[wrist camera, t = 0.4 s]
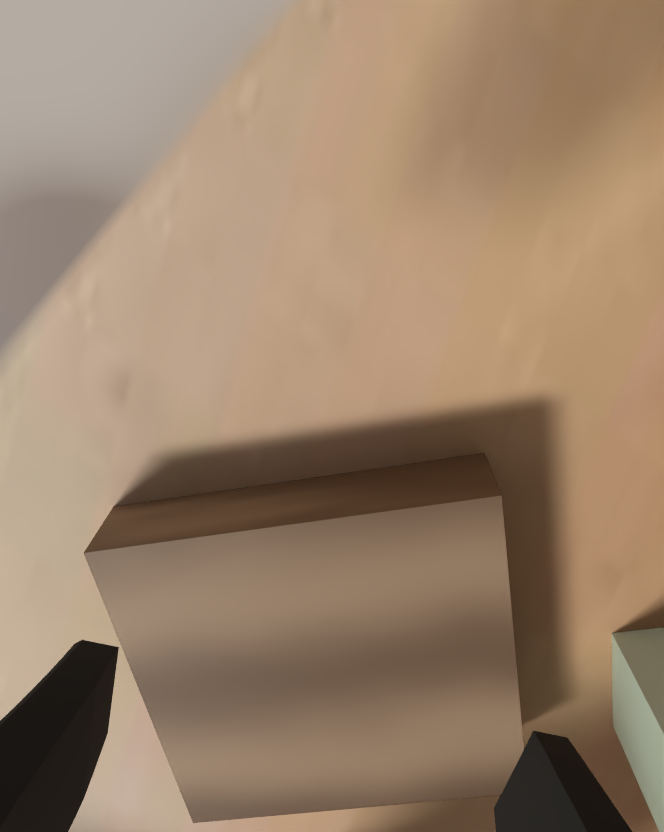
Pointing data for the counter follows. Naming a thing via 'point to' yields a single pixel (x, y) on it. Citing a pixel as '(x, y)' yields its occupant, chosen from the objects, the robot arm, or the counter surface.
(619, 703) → the sage block
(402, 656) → the walnut slab
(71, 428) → the counter surface
